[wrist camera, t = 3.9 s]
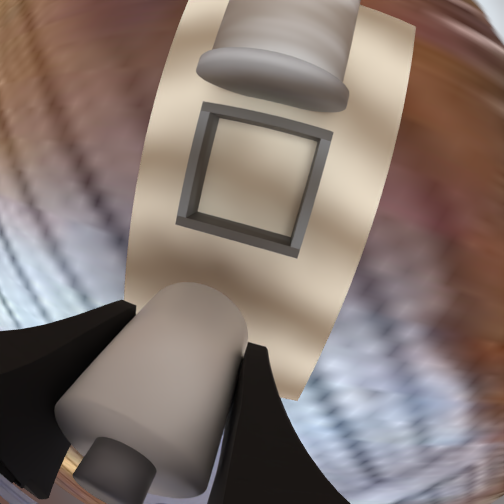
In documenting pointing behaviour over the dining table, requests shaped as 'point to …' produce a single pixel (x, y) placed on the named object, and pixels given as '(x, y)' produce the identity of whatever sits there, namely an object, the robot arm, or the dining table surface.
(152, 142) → the motor mount
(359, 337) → the dining table surface
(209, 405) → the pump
